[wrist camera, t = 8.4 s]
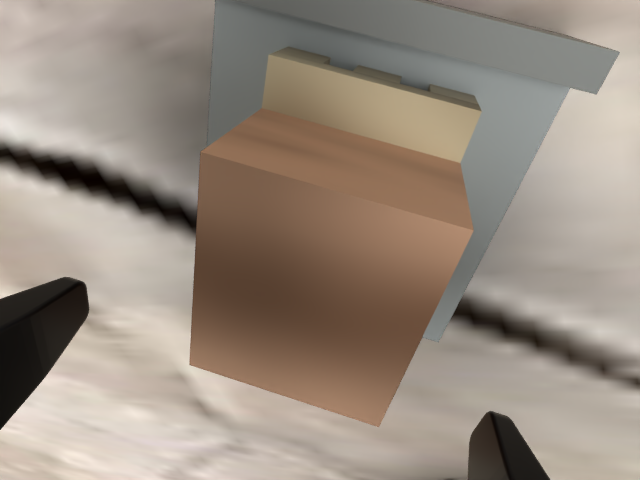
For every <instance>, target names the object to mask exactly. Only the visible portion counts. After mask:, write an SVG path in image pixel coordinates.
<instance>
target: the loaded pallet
mask: <svg viewBox="0 0 640 480" xmlns="http://www.w3.org/2000/svg"><path fill="white" fill-rule="evenodd" d="M330 59H331V58H330V57H327V56H323V55H319V54H315V53H311V52H308V51H304V50H300V49H296V48H293V47H289V46H288V47H286V48H283V49H281V50H278V51H276V52H274V53H271V54H269V55H268V63H267V70H266V78H265V86H264V94H263V101H262V108H261V109H260V110H258V111H257V112H255V113H254V114H253V115H251V116H250V117H248V118H247V119H246V120H244V121H243V122H241V123H240V124H239V125H237V126H236V127H234V128H233V129H232V130H230V131H229V132H227V133H226V134H225V135H223V136H222V137H220V138H219V139H218V140H216V141H215V142H214V143H212V144H211V145H209V146H208V147H207V148H205V149H204V150H202V151H201V152H200V170H199V189H198V209H197V228H196V247H195V267H194V286H193V306H192V325H191V344H190V364H189V365H192V366H195V367H198V368H201V369H204V370H207V371H210V372H213V373H216V374H219V375H222V376H225V377H228V378H231V379H234V380H237V381H240V382H243V383H246V384H249V385H252V386H255V387H259V388H262V389H265V390H268V391H271V392H274V393H277V394H280V395H283V396H286V397H289V398H292V399H295V400H298V401H301V402H304V403H307V404H310V405H313V406H316V407H319V408H323V409H326V410H329V411H332V412H335V413H338V414H341V415H344V416H347V417H350V418H353V419H356V420H359V421H362V422H365V423H368V424H371V425H374V426H377V427H379V426H380V424H381V421H382V419H383V417H384V415H385V413H386V411H387V409H388V407H389V405H390V403H391V401H392V399H393V397H394V395H395V393H396V390H397V388H398V386H399V384H400V382H401V380H402V378H403V376H404V374H405V372H406V370H407V368H408V366H409V364H410V361H411V359H412V357H413V355H414V353H415V351H416V349H417V347H418V345H419V343H420V341H421V339H422V337H423V335H424V333H425V330H426V328H427V326H428V324H429V322H430V320H431V318H432V316H433V314H434V312H435V310H436V308H437V306H438V304H439V302H440V299H441V297H442V295H443V293H444V291H445V289H446V287H447V285H448V283H449V281H450V279H451V277H452V275H453V273H454V271H455V268H456V266H457V264H458V262H459V260H460V258H461V256H462V254H463V252H464V250H465V248H466V246H467V244H468V242H469V239H470V237H471V235H472V233H473V231H474V229H473V224H472V219H471V214H470V209H469V204H468V199H467V194H466V189H465V184H464V179H463V174H462V169H461V164H460V163H461V160H462V158H463V156H464V153H465V151H466V148H467V146H468V144H469V141H470V139H471V136H472V134H473V132H474V129H475V127H476V124H477V122H478V120H479V117H480V115H481V113H482V110H481V108H480V106H479V104H478V102H477V100H476V98H475V96H474V95H470V94H467V93H463V92H459V91H455V90H452V89H448V88H444V87H440V86H436V85H433V84H430V85H429V88H428V91H426V90H422V89H418V88H415V87H411V86H407V85H403V84H400V81H401V77H402V76H399V75H395V74H391V73H387V72H383V71H380V70H376V69H372V68H368V67H364V66H361V65H358V66H357V67H356V68H355V69H354V70H353V71H351V70H347V69H343V68H339V67H335V66H332V65H329V64H330Z"/></svg>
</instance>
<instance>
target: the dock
mask: <svg viewBox="0 0 640 480" xmlns="http://www.w3.org/2000/svg"><path fill="white" fill-rule="evenodd" d="M288 46H289V47H293V48H296V49H300V50H304V51H308V52H311V53H315V54H319V55H323V56H327V57H330V58H331V59H330V64H329V65H332V66H335V67H339V68H343V69H347V70H351V71H353V70H354V69H355V68H356V67H357V66H358V65H361V66H364V67H368V68H372V69H376V70H380V71H383V72H387V73H391V74H395V75H399V76H402V77H401V81H400V84H403V85H407V86H411V87H415V88H418V89H422V90H426V91H428V88H429V85H430V84H433V85H436V86H440V87H444V88H448V89H452V90H455V91H459V92H463V93H467V94H470V95H474V96H475V98H476V100H477V102H478V104H479V106H480V108H481V110H482V113H481V115H480V117H479V120H478V122H477V124H476V127H475V129H474V132H473V134H472V136H471V139H470V141H469V144H468V146H467V148H466V151H465V153H464V156H463V158H462V160H461V163H460V164H461V169H462V174H463V179H464V184H465V189H466V194H467V199H468V204H469V209H470V214H471V219H472V224H473V229H474V231H473V233H472V235H471V237H470V239H469V242H468V244H467V246H466V248H465V250H464V252H463V254H462V256H461V258H460V260H459V262H458V264H457V266H456V268H455V271H454V273H453V275H452V277H451V279H450V281H449V283H448V285H447V287H446V289H445V291H444V293H443V295H442V297H441V299H440V302H439V304H438V306H437V308H436V310H435V312H434V314H433V316H432V318H431V320H430V322H429V324H428V326H427V328H426V330H425V333H424V335H423V338H426V339H430V340H433V341H436V342H439V340H440V338H441V336H442V334H443V332H444V330H445V328H446V326H447V324H448V323H449V321H450V319H451V317H452V315H453V313H454V311H455V309H456V307H457V305H458V303H459V301H460V299H461V297H462V296H463V294H464V292H465V290H466V288H467V286H468V284H469V282H470V280H471V278H472V276H473V274H474V272H475V270H476V269H477V267H478V265H479V263H480V261H481V259H482V257H483V255H484V253H485V251H486V249H487V247H488V245H489V243H490V242H491V240H492V238H493V236H494V234H495V232H496V230H497V228H498V226H499V224H500V222H501V220H502V218H503V216H504V215H505V213H506V211H507V209H508V207H509V205H510V203H511V201H512V199H513V197H514V195H515V193H516V191H517V190H518V188H519V186H520V184H521V182H522V180H523V178H524V176H525V174H526V172H527V170H528V168H529V166H530V164H531V163H532V161H533V159H534V157H535V155H536V153H537V151H538V149H539V147H540V145H541V143H542V141H543V139H544V137H545V136H546V134H547V132H548V130H549V128H550V126H551V124H552V122H553V120H554V118H555V116H556V114H557V112H558V110H559V109H560V107H561V105H562V103H563V101H564V99H565V97H566V95H567V93H568V91H569V89H570V88H573V89H577V90H581V91H585V92H589V93H593V94H597V93H598V91H599V89H600V87H601V86H602V84H603V82H604V80H605V78H606V77H607V75H608V73H609V71H610V69H611V68H612V66H613V64H614V62H615V60H616V59H617V57H618V55H619V53H620V52H618V51H615V50H612V49H609V48H606V47H602V46H599V45H596V44H593V43H590V42H587V41H583V40H580V39H577V38H574V37H571V36H568V35H564V34H560V33H556V32H552V31H548V30H544V29H540V28H536V27H532V26H528V25H524V24H520V23H516V22H512V21H508V20H504V19H500V18H496V17H492V16H488V15H484V14H480V13H476V12H472V11H468V10H464V9H460V8H456V7H452V6H448V5H444V4H440V3H436V2H431V1H427V0H215V16H214V32H213V49H212V66H211V82H210V99H209V116H208V132H207V147H208V146H209V145H211V144H212V143H214V142H215V141H216V140H218V139H219V138H220V137H222V136H223V135H225V134H226V133H227V132H229V131H230V130H232V129H233V128H234V127H236V126H237V125H239V124H240V123H241V122H243V121H244V120H246V119H247V118H248V117H250V116H251V115H253V114H254V113H255V112H257V111H258V110H260V109H261V108H262V101H263V94H264V86H265V78H266V70H267V63H268V55H269V54H271V53H274V52H276V51H278V50H281V49H283V48H286V47H288Z"/></svg>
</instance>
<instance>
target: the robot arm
mask: <svg viewBox="0 0 640 480" xmlns="http://www.w3.org/2000/svg"><path fill="white" fill-rule="evenodd" d="M88 313H89V302H88V295H87V287H86V285H85V283H84V282H82V281H80V280H77V279H73V278H70V277H63V278H60V279H57V280H54V281H51V282H48V283H45V284H42V285H39V286H36V287H34V288H31V289H28V290H25V291H22V292H19V293H16V294H13V295H10V296H7V297H5V298H2V299H0V430H1V429H2V427H3V426H4V425H5V424H6V423H7V421H8V420H9V419H10V418H11V417H12V416H13V414H14V413H15V412H16V411H17V410H18V409H19V407H20V406H21V405H22V404H23V403H24V402H25V400H26V399H27V398H28V397H29V396H30V395H31V393H32V392H33V391H34V390H35V389H36V388H37V386H38V385H39V384H40V383H41V382H42V380H43V379H44V378H45V377H46V375H47V374H48V373H49V371H50V370H51V368H52V367H53V366H54V364H55V363H56V361H57V360H58V359H59V357H60V356H61V354H62V353H63V351H64V350H65V348H66V347H67V346H68V344H69V343H70V341H71V340H72V338H73V337H74V336H75V334H76V333H77V331H78V330H79V328H80V327H81V326H82V324H83V323H84V321H85V320H86V318H87V316H88ZM468 480H550V479H549V477H548V476H547V474H546V472H545V471H544V469H543V468H542V466H541V465H540V463H539V462H538V460H537V459H536V457H535V455H534V454H533V452H532V451H531V449H530V448H529V446H528V445H527V443H526V441H525V440H524V438H523V437H522V435H521V434H520V432H519V431H518V429H517V428H516V426H515V424H514V423H513V421H512V420H511V419H510V418H509V417H507V416H505V415H502V414H499V413H496V412H493V411H489V412H487V413H486V414H485V415H484V417H483V418H482V419H481V421H480V422H479V424H478V425H477V427H476V428H475V429H474V431H473V432H472V435H471V437H470V442H469V461H468Z"/></svg>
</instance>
